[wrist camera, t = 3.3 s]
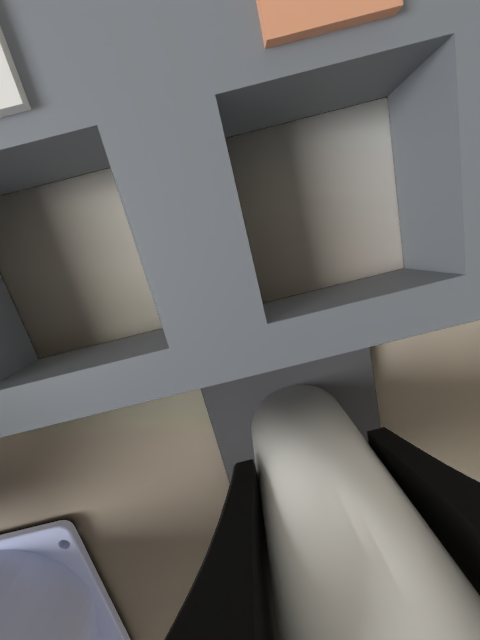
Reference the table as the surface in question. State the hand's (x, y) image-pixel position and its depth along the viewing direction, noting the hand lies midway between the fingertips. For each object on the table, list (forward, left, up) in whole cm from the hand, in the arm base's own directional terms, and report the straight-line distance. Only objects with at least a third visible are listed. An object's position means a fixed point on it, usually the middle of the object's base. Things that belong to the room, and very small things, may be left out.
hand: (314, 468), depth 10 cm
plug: (0, 0, -2) cm, 2 cm away
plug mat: (0, 0, -3) cm, 3 cm away
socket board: (+10, +2, -3) cm, 11 cm away
